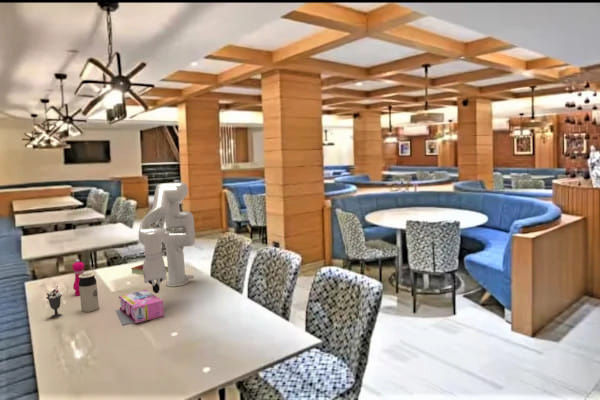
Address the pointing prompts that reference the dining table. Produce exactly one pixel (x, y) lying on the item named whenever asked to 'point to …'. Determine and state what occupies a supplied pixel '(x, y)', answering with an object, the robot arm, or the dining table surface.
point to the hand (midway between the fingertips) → (156, 292)
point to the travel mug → (88, 292)
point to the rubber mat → (123, 318)
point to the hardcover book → (141, 269)
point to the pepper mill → (77, 275)
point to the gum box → (141, 306)
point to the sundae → (54, 302)
